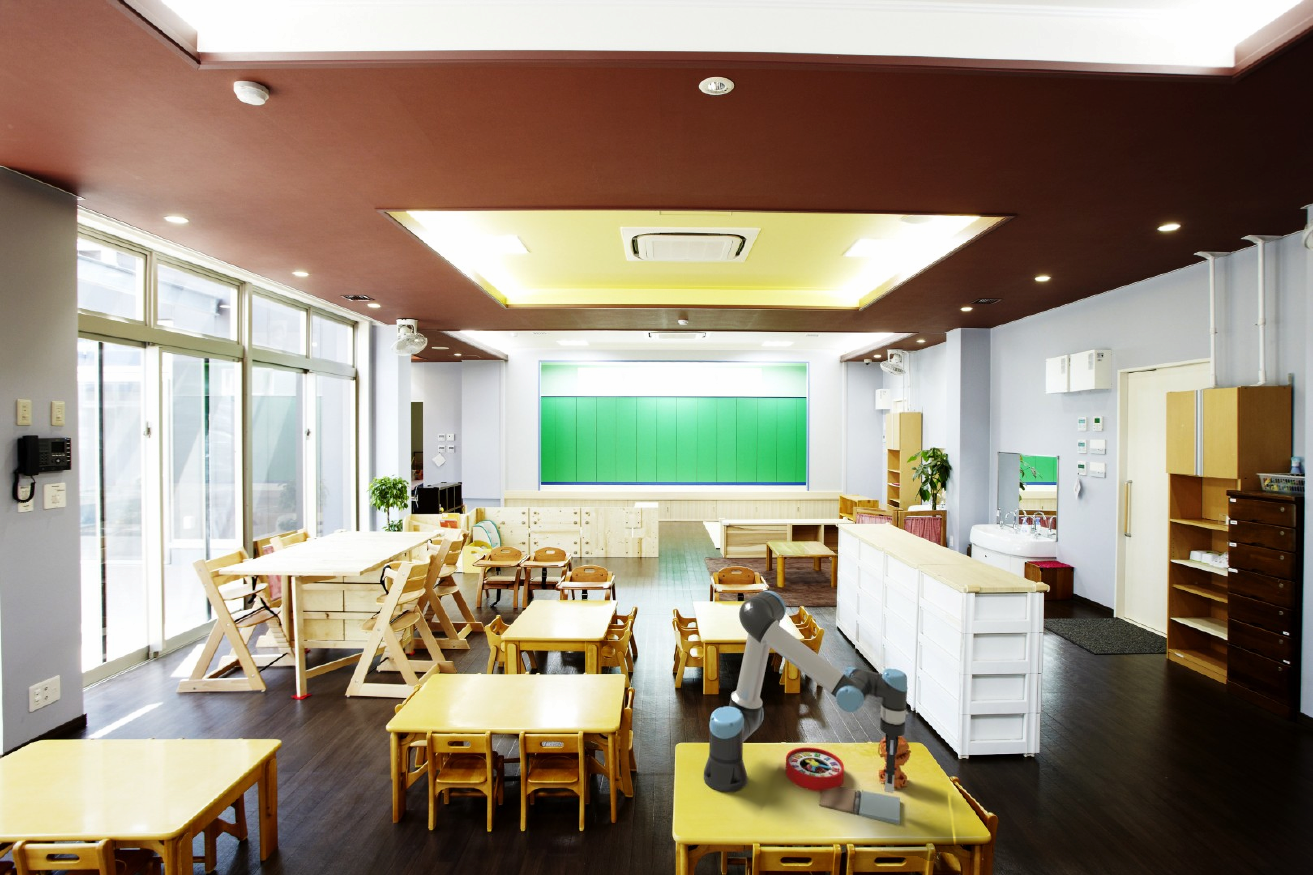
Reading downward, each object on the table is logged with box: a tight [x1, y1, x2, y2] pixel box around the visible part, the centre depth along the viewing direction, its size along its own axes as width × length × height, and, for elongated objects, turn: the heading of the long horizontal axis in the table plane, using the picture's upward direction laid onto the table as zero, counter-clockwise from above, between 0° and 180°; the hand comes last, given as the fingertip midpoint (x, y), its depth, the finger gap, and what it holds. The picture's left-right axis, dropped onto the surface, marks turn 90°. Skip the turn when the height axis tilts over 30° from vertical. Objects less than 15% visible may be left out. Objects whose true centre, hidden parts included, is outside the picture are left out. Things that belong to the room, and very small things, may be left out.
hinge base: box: [818, 785, 862, 816], centre depth 207 cm, size 12×13×2 cm
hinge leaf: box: [854, 790, 901, 826], centre depth 203 cm, size 14×13×2 cm
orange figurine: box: [877, 736, 912, 790], centre depth 218 cm, size 11×11×18 cm
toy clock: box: [785, 746, 845, 792], centre depth 221 cm, size 20×6×20 cm
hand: (889, 790), depth 201 cm, fingers closed
